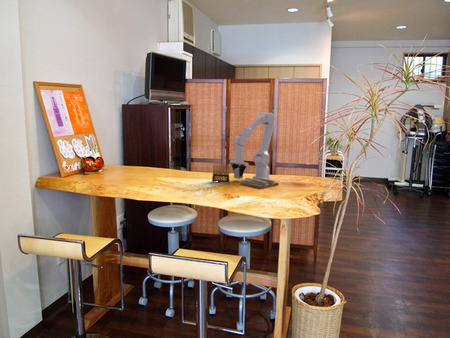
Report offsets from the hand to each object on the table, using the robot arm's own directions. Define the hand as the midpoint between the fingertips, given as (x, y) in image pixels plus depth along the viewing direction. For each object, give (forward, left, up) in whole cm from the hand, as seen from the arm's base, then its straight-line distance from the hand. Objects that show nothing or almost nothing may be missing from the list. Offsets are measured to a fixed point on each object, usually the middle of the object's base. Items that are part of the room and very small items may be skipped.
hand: (238, 175), depth 241 cm
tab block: (0, 0, -2) cm, 2 cm away
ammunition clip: (+12, -4, -4) cm, 13 cm away
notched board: (-2, +16, -3) cm, 16 cm away
